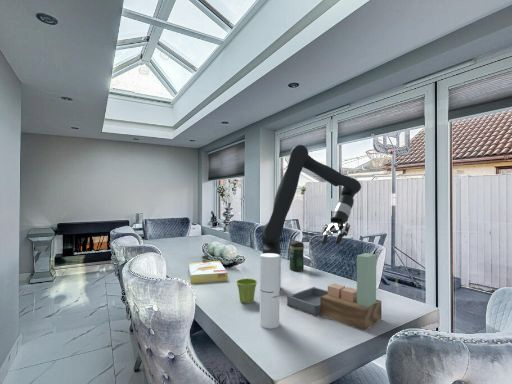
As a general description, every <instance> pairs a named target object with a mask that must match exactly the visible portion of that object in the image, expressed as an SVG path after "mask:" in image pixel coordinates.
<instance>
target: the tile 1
mask: <svg viewBox="0 0 512 384" xmlns="http://www.w3.org/2000/svg"><path fill="white" fill-rule="evenodd" d="M344 288H346V286H345V285H341V284H337V283H332V284H330V285H327V291H328V295H330V296H334V297H337V298H340V297H341V290H342V289H344Z"/></svg>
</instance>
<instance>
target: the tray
mask: <svg viewBox="0 0 512 384" xmlns="http://www.w3.org/2000/svg"><path fill="white" fill-rule="evenodd" d="M327 294H328V290H327V289H326V290H325V289H323V288H318V287H315V286H312V287H310V288H309V287H308V288H306V289H304V290H301V291H298V292H295V293H293V294H290V295H287V297H286V299H287V300H286V301H287V303H286V306H288V307H290V308H292V309H295V310H297V311H300V312H303V313H306V314H309V315H311V316H314V317H319V316H321V315H320V297H322V296H324V295H327Z"/></svg>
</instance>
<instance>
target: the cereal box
mask: <svg viewBox="0 0 512 384" xmlns="http://www.w3.org/2000/svg"><path fill="white" fill-rule="evenodd" d="M187 266H188V267H187V268H188V270H187V271H188V275H189V280H190V284H200V283H203V284H204V283H214V282H215V283H216V282H225V281H228V271H227V270H226V268H225V266H223V265H222V264H221V262H220V261H211V262H203V261H201V262H200V261H199V262H190V263H188V265H187Z"/></svg>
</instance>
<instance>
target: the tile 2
mask: <svg viewBox="0 0 512 384" xmlns="http://www.w3.org/2000/svg"><path fill="white" fill-rule="evenodd" d="M341 299H344V300H347V301H350V302H355V301H357V288H353V287H349V286H347V287H345V288H344V289H342V290H341Z"/></svg>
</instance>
